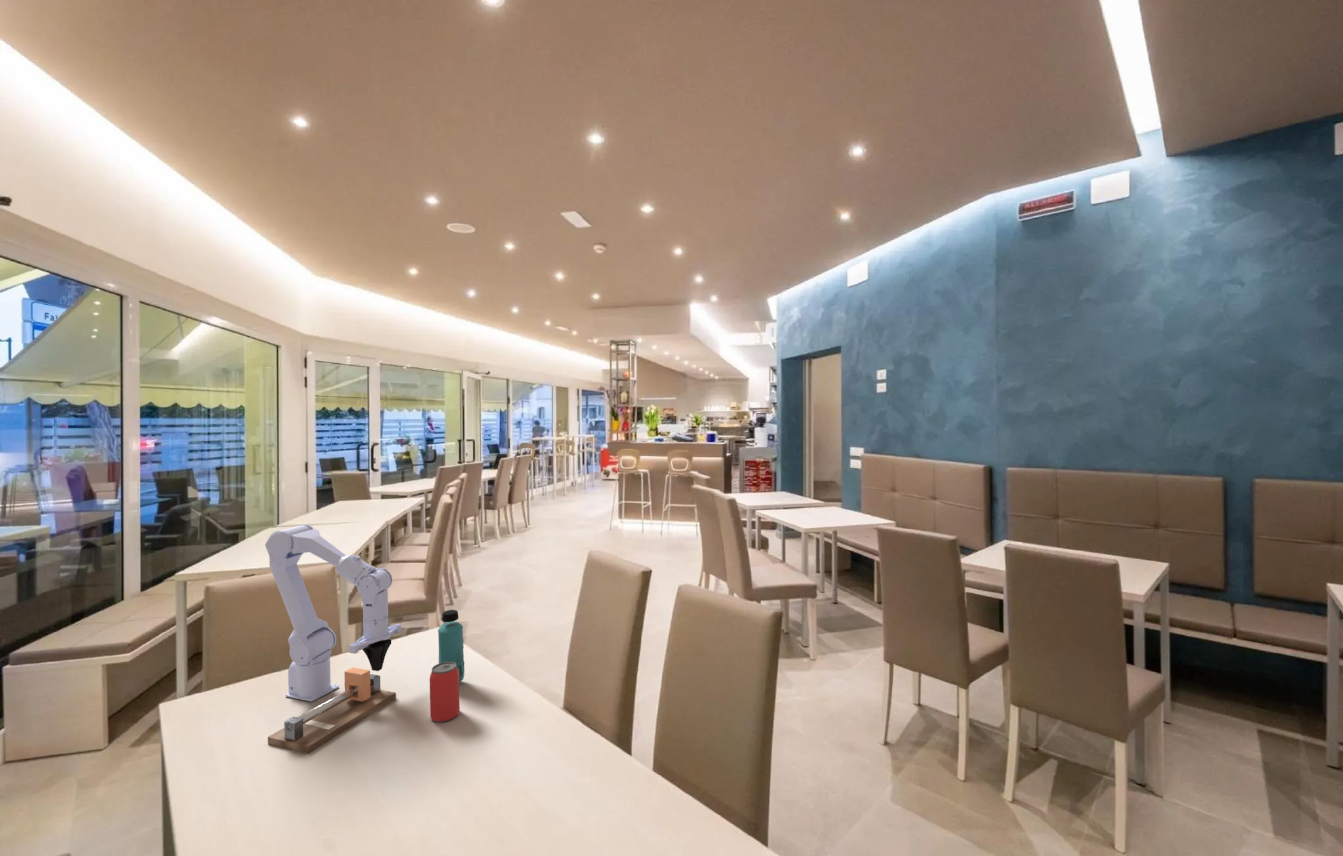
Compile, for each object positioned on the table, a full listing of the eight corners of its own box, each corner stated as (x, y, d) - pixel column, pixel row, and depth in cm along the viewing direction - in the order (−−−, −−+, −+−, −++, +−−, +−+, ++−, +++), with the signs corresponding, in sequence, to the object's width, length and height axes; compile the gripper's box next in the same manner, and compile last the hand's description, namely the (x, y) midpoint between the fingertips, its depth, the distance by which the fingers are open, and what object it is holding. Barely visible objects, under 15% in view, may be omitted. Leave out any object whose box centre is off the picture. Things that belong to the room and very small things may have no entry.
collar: (345, 698, 136) (344, 671, 136) (353, 693, 138) (352, 667, 138) (362, 701, 134) (361, 674, 134) (370, 696, 137) (369, 670, 136)
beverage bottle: (455, 692, 143) (454, 616, 143) (433, 689, 144) (431, 615, 144) (469, 680, 149) (468, 608, 149) (448, 678, 151) (446, 606, 150)
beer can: (464, 709, 135) (463, 661, 134) (451, 724, 128) (450, 673, 128) (439, 708, 135) (438, 660, 135) (424, 722, 129) (423, 672, 129)
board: (267, 743, 121) (267, 736, 121) (359, 691, 144) (359, 685, 144) (307, 753, 117) (307, 746, 117) (395, 698, 140) (395, 692, 140)
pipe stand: (284, 739, 120) (284, 721, 120) (371, 689, 142) (371, 674, 142) (294, 741, 119) (294, 723, 119) (380, 690, 141) (380, 675, 141)
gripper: (364, 629, 133) (365, 684, 134) (409, 609, 147) (410, 659, 148) (342, 626, 136) (343, 680, 136) (388, 607, 149) (390, 656, 150)
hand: (376, 669), depth 142 cm, fingers closed
